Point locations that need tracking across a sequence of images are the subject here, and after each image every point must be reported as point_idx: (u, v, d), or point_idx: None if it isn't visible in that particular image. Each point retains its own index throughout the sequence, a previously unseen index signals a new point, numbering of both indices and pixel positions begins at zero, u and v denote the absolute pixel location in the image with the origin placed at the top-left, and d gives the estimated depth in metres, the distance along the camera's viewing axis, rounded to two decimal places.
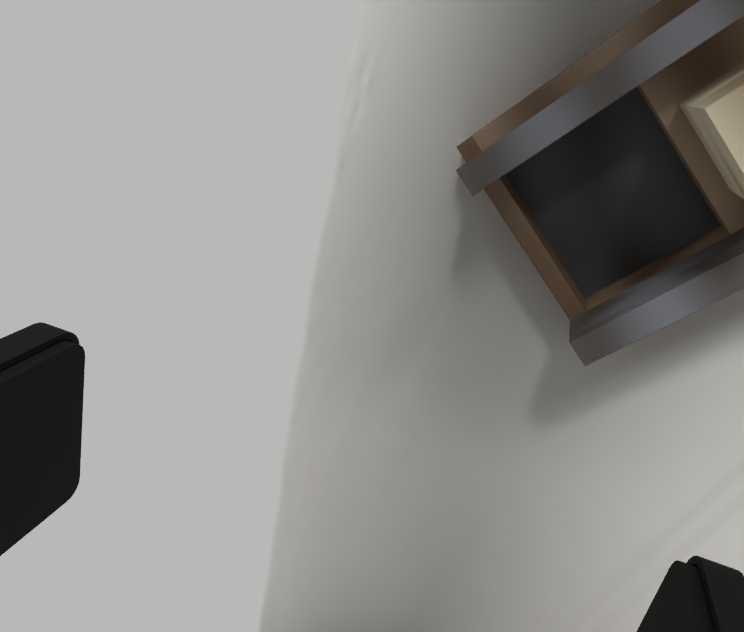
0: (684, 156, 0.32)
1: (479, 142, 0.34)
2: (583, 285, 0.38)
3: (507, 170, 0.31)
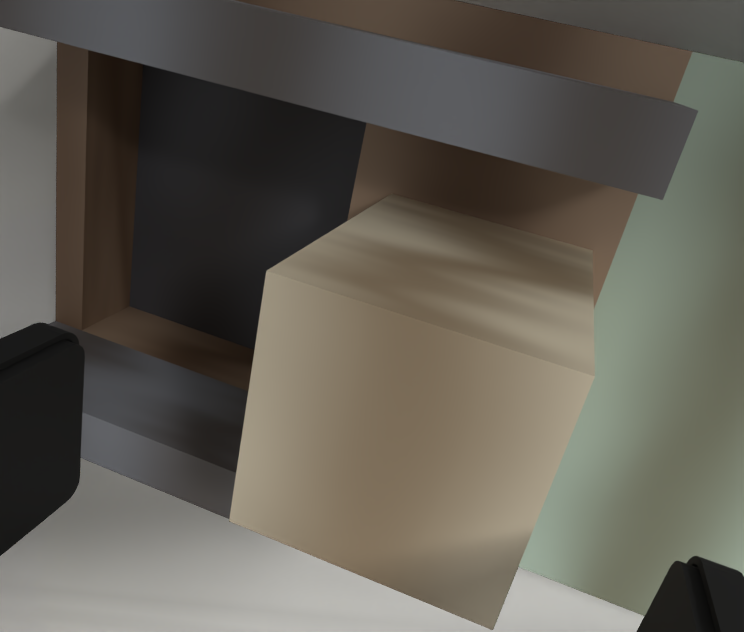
0: None
1: None
2: (137, 289, 0.22)
3: (17, 26, 0.14)
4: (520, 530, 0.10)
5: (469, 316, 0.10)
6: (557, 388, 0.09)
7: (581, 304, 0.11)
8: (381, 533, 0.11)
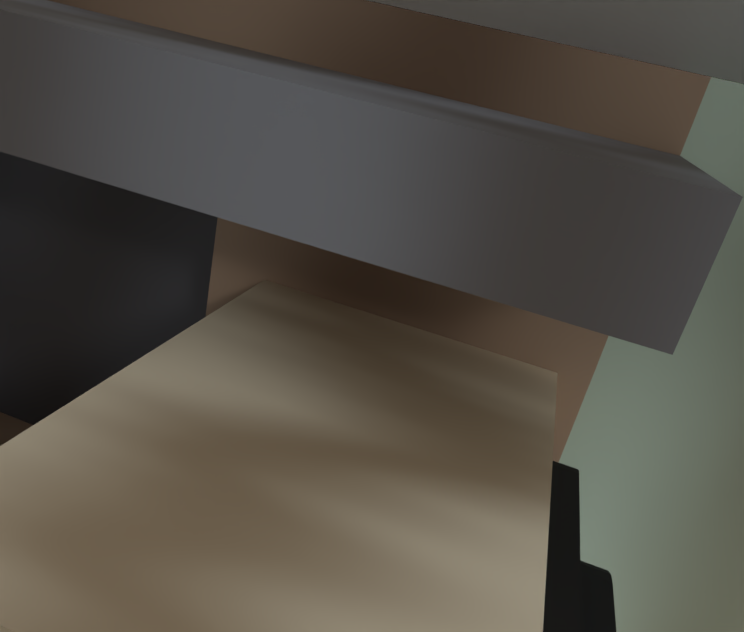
0: None
1: None
2: None
3: None
4: None
5: None
6: None
7: (525, 538, 0.06)
8: None
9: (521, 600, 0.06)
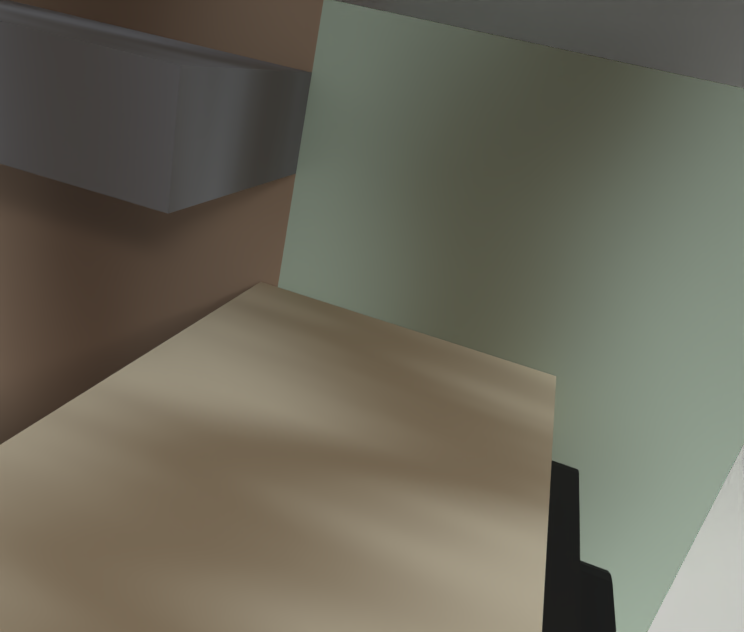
0: None
1: None
2: None
3: None
4: None
5: None
6: None
7: (523, 545, 0.06)
8: None
9: (519, 609, 0.05)
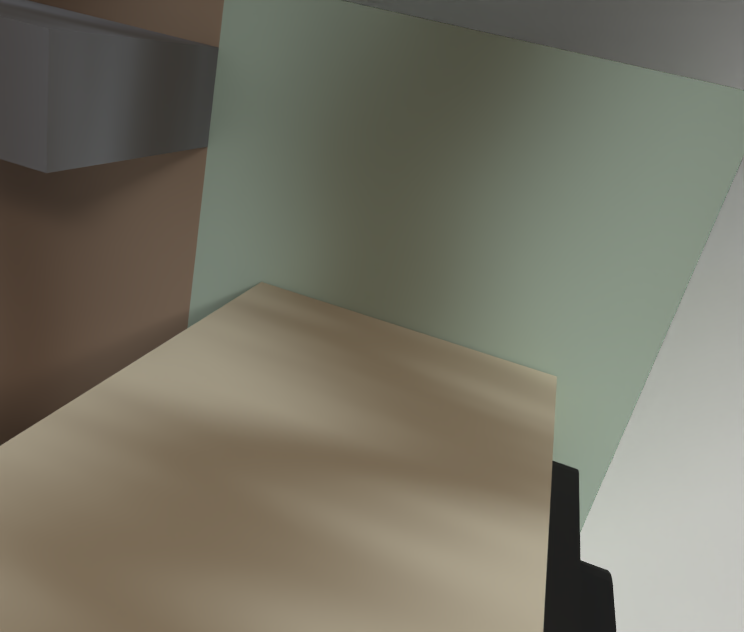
0: None
1: None
2: None
3: None
4: None
5: None
6: None
7: (524, 546, 0.06)
8: None
9: (520, 609, 0.05)
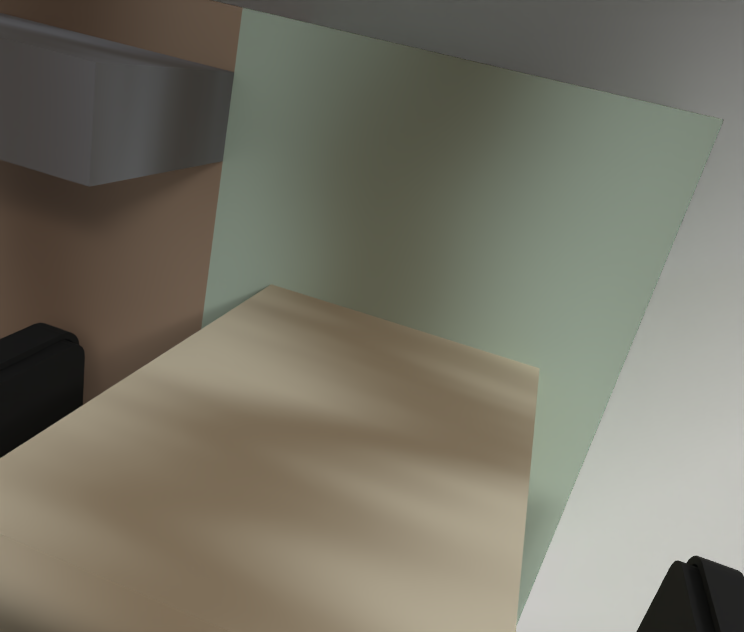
0: None
1: None
2: None
3: None
4: None
5: (296, 580, 0.06)
6: None
7: (506, 504, 0.07)
8: None
9: (502, 553, 0.06)
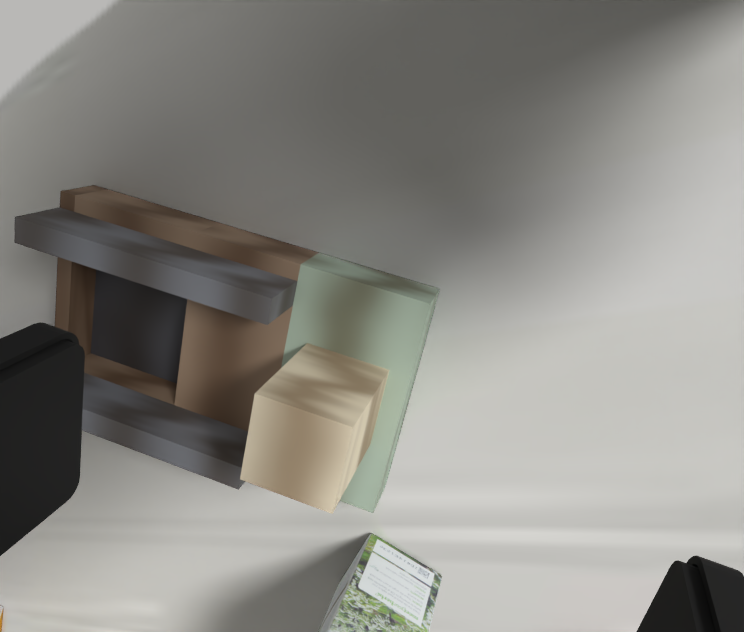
0: (183, 340, 0.39)
1: (76, 204, 0.38)
2: (95, 345, 0.44)
3: (46, 251, 0.36)
4: (337, 476, 0.31)
5: (320, 407, 0.31)
6: (343, 430, 0.30)
7: (365, 399, 0.32)
8: (293, 480, 0.32)
9: (361, 407, 0.32)
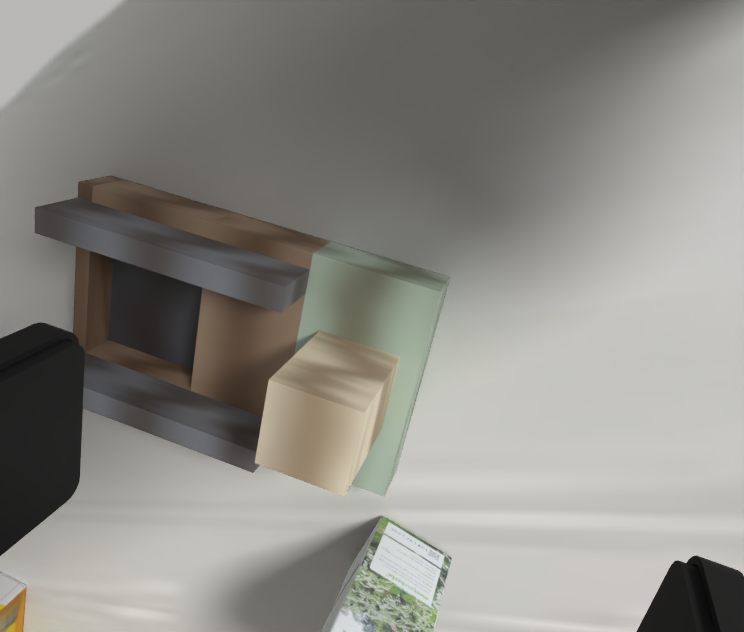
0: (198, 327, 0.40)
1: (94, 195, 0.39)
2: (112, 332, 0.45)
3: (65, 241, 0.37)
4: (349, 460, 0.32)
5: (332, 393, 0.32)
6: (355, 416, 0.31)
7: (376, 386, 0.33)
8: (307, 464, 0.32)
9: (372, 393, 0.32)
